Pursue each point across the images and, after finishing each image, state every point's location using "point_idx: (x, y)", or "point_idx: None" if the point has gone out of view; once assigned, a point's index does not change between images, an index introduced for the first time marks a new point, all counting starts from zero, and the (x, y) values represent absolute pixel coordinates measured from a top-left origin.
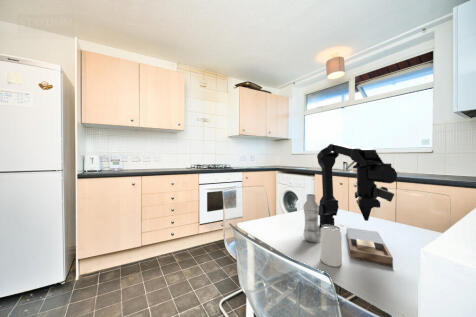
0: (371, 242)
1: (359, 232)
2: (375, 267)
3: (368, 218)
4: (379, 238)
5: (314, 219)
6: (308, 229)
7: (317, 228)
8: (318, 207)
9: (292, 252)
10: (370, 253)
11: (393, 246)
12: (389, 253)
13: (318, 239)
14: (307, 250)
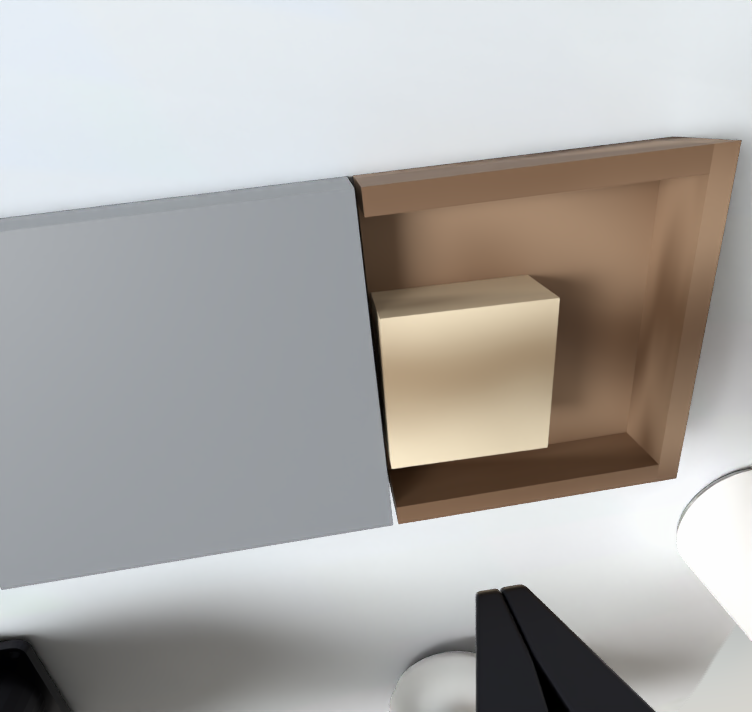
0: (413, 335)
1: (92, 461)
2: (724, 272)
3: (565, 628)
4: (154, 243)
5: None
6: None
7: None
8: None
9: (674, 684)
10: (701, 335)
11: (63, 54)
12: (638, 162)
13: (467, 662)
14: (615, 644)
